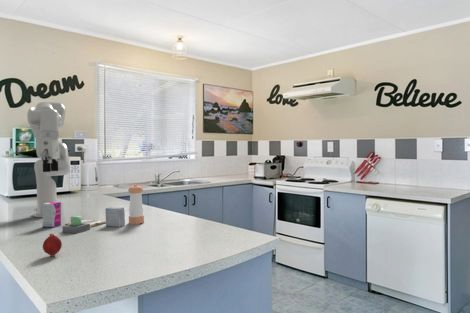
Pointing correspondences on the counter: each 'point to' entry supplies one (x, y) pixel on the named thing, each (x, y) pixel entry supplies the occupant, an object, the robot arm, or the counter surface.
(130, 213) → the pepper shaker
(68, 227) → the button box
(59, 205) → the supplement box
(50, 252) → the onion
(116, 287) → the counter surface
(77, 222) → the button
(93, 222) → the wooden picture frame
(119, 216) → the medicine box
